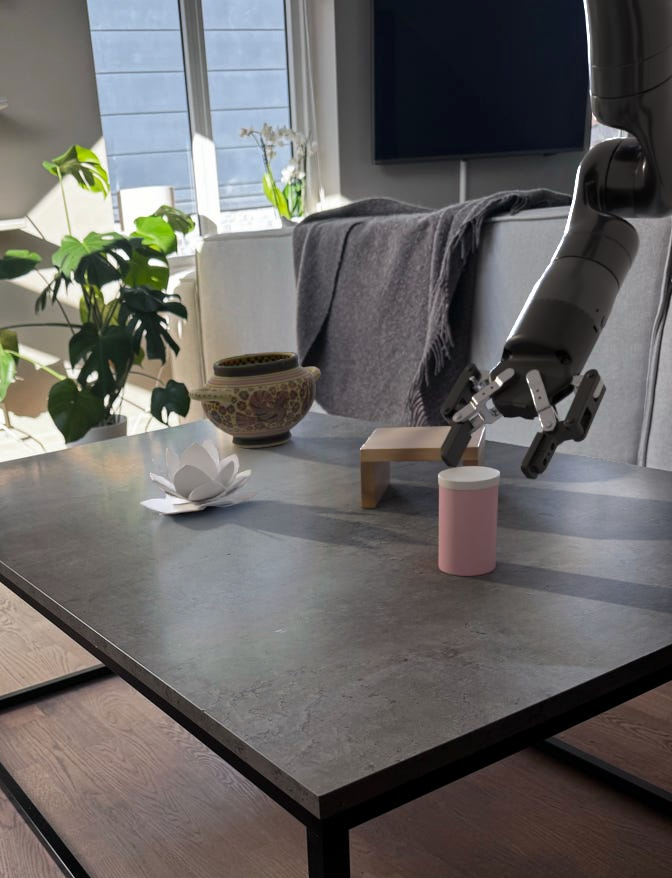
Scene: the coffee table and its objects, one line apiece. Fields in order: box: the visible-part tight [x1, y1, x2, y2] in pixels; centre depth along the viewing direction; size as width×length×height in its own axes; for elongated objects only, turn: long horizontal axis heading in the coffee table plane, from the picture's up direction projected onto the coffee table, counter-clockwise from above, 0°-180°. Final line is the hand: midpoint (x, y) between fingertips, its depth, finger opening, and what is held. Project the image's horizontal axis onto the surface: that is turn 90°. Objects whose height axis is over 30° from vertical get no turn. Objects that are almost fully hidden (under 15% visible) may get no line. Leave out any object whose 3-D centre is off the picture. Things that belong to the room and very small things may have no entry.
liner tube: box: [437, 466, 501, 577], centre depth 85 cm, size 5×5×9 cm
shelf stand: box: [359, 424, 487, 509], centre depth 108 cm, size 13×11×7 cm
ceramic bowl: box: [188, 351, 322, 449], centre depth 142 cm, size 24×18×15 cm
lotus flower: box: [140, 437, 260, 516], centre depth 114 cm, size 14×15×9 cm
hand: (486, 468), depth 85 cm, fingers open, 8 cm apart
